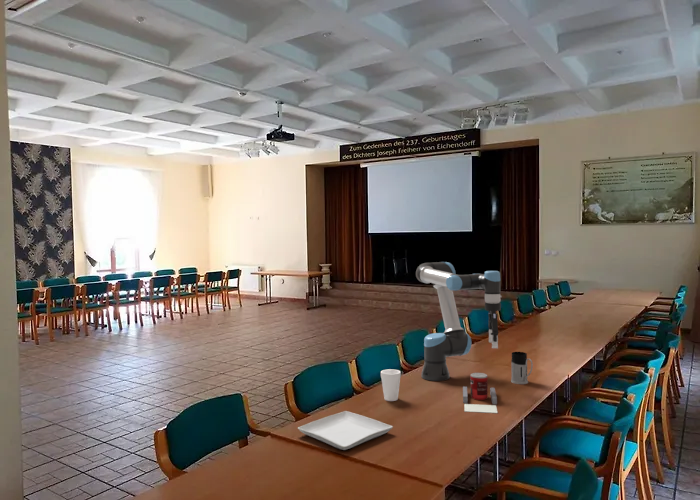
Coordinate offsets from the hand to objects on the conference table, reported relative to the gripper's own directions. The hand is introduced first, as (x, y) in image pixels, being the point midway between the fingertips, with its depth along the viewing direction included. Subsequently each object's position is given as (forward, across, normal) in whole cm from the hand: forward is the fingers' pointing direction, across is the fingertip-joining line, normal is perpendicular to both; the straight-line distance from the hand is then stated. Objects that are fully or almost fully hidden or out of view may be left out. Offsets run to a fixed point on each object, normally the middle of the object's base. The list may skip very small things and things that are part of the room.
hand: (493, 345), depth 258 cm
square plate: (+23, -64, +64) cm, 93 cm away
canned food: (+23, -12, +8) cm, 27 cm away
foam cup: (+23, -18, +50) cm, 57 cm away
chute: (+23, -19, +9) cm, 31 cm away
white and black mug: (+23, +15, -16) cm, 32 cm away
